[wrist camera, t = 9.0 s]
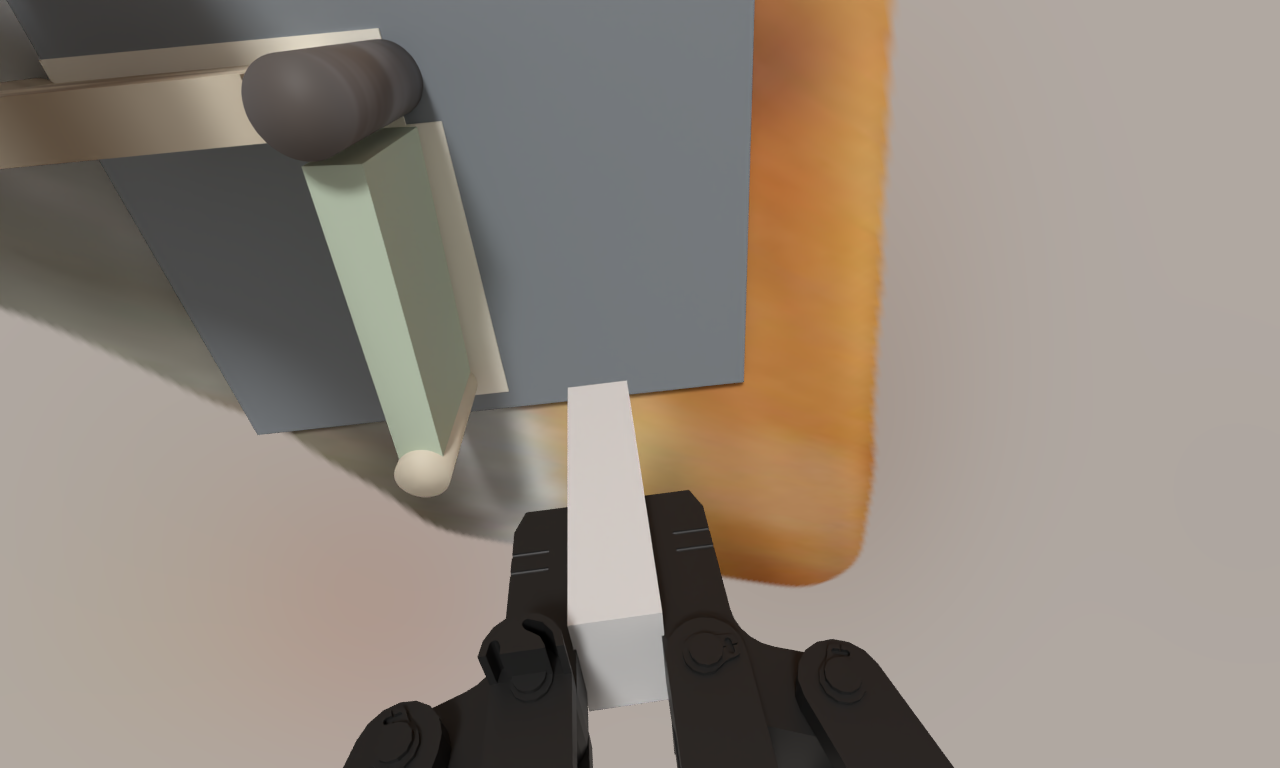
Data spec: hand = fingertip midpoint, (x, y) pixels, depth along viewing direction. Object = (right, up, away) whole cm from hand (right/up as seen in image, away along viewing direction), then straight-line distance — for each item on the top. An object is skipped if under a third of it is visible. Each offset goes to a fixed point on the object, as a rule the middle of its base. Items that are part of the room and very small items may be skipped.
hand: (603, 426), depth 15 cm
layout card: (-7, +8, +9) cm, 13 cm away
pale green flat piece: (-8, +5, +9) cm, 13 cm away
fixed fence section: (-13, +11, +5) cm, 18 cm away
